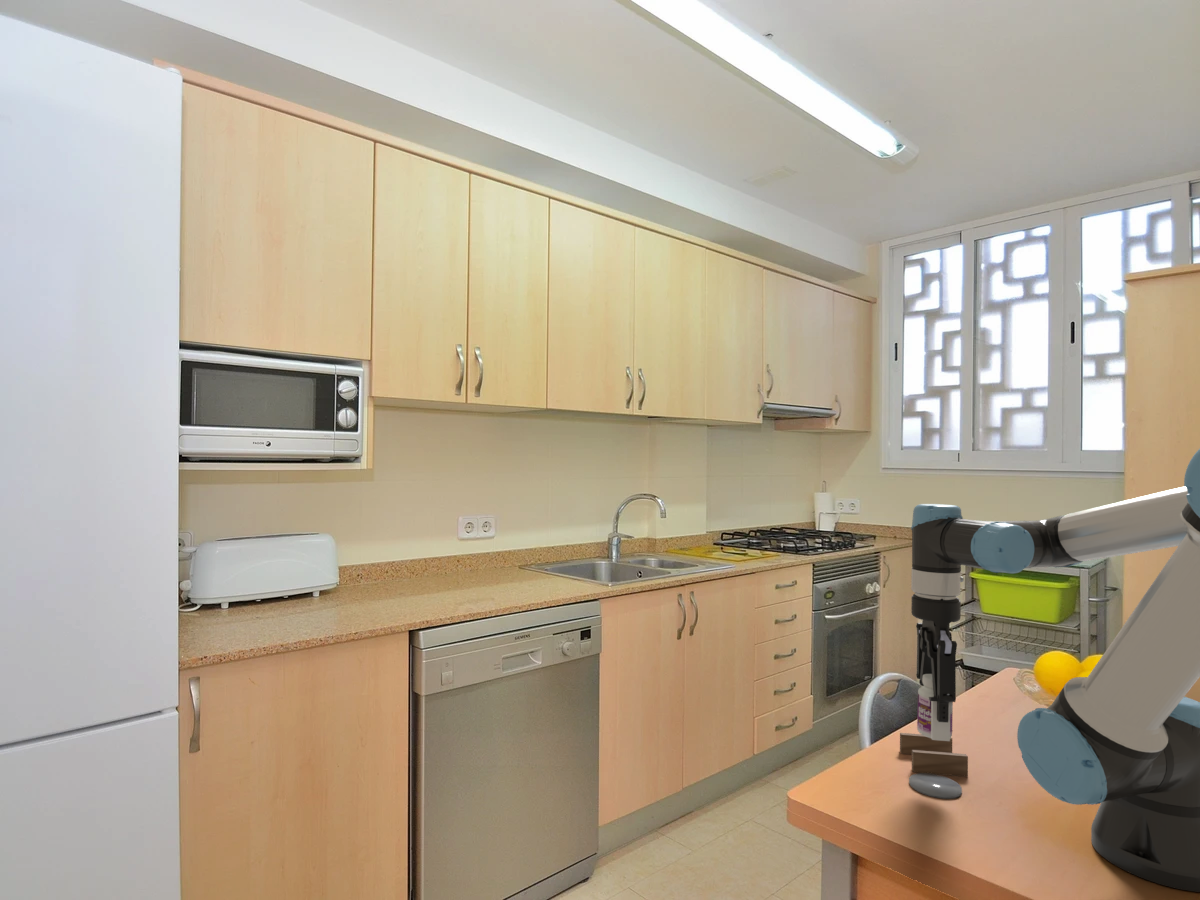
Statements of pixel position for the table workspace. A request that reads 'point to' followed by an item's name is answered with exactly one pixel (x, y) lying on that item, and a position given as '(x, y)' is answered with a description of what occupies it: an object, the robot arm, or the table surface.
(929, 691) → the pill bottle
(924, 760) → the rail cradle
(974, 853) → the table surface
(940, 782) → the coaster
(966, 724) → the table surface
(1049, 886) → the table surface
